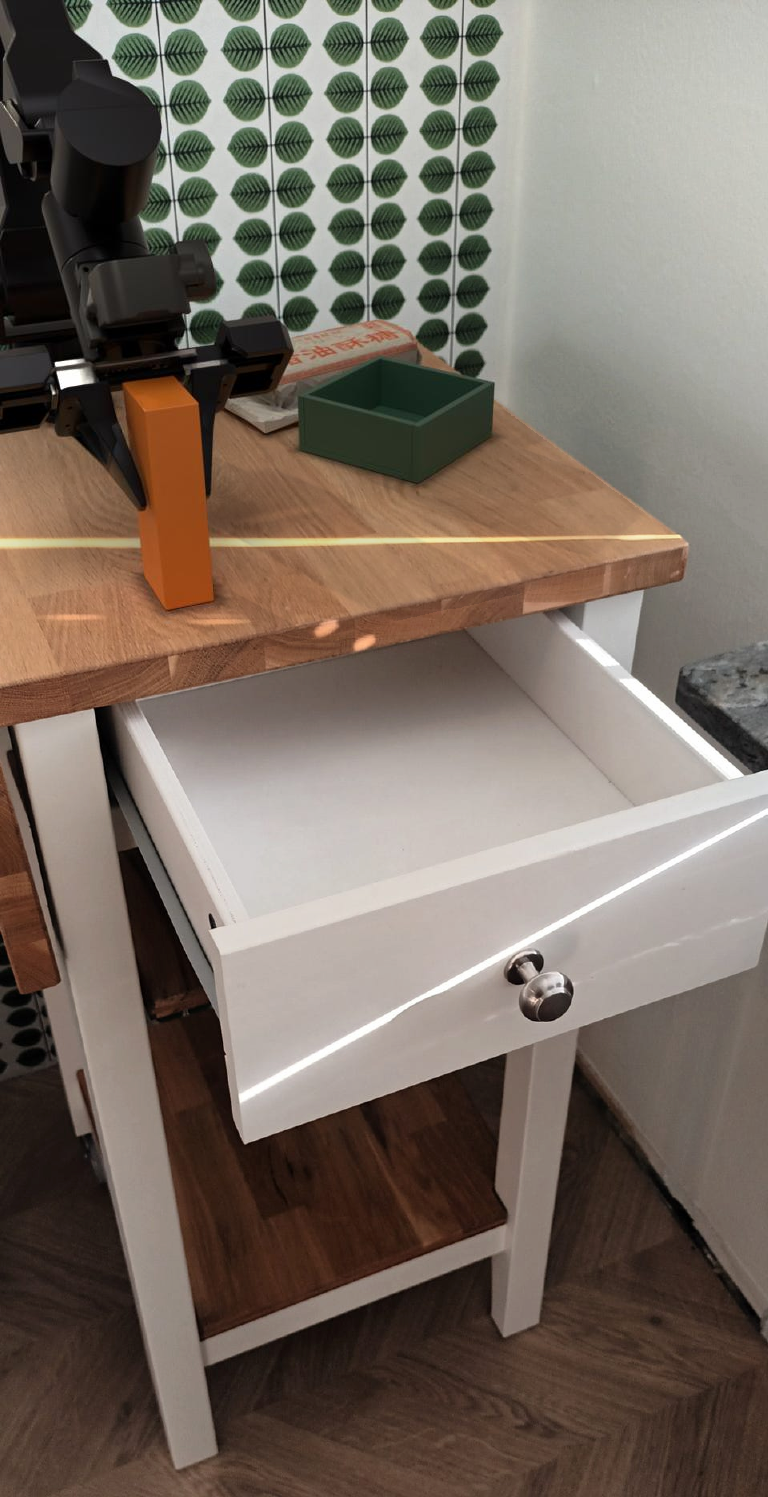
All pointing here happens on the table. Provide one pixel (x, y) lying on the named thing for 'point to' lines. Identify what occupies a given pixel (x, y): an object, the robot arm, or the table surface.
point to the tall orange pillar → (170, 490)
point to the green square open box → (396, 417)
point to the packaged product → (324, 367)
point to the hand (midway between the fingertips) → (175, 503)
